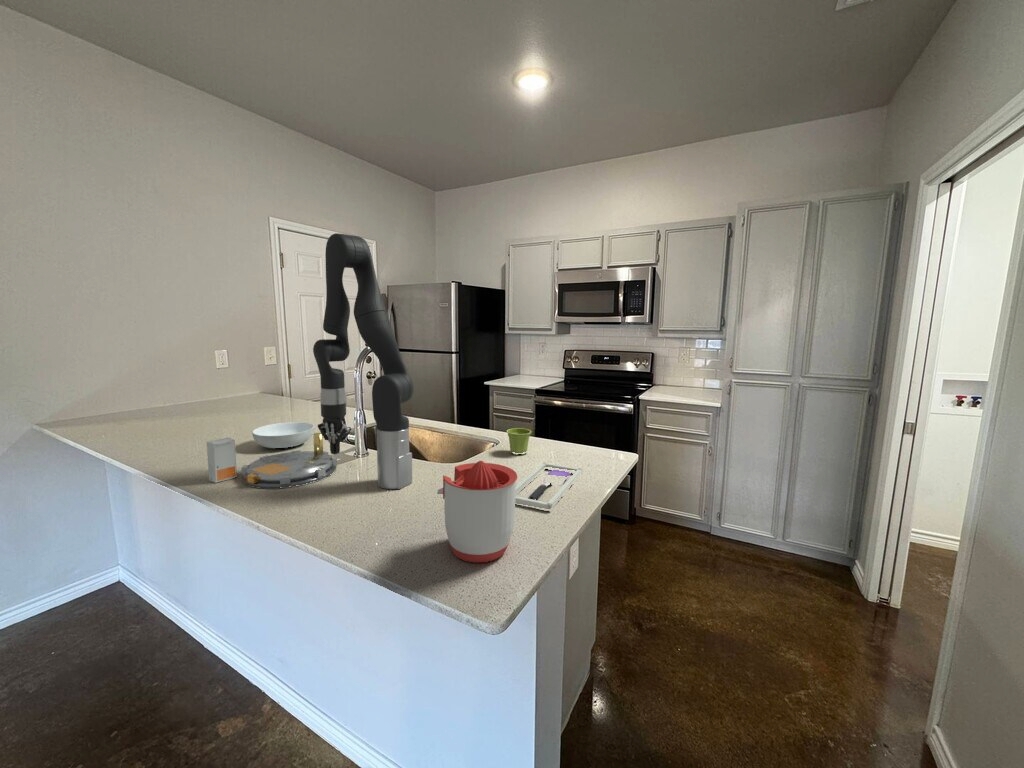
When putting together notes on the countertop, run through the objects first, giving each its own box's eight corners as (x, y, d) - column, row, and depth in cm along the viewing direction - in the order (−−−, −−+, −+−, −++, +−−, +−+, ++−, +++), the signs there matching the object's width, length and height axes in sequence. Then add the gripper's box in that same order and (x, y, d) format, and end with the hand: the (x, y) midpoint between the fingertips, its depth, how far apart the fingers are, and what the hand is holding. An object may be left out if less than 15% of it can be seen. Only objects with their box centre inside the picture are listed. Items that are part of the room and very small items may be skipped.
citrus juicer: (454, 525, 101) (454, 445, 98) (523, 538, 96) (526, 454, 93) (422, 560, 86) (421, 466, 84) (502, 576, 81) (504, 478, 79)
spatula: (539, 507, 114) (539, 499, 113) (517, 502, 117) (517, 493, 116) (570, 479, 135) (570, 472, 134) (551, 475, 138) (551, 468, 137)
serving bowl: (268, 438, 171) (267, 421, 170) (322, 438, 173) (321, 421, 172) (241, 454, 150) (240, 435, 149) (303, 453, 153) (302, 435, 152)
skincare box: (215, 483, 123) (212, 444, 121) (208, 480, 125) (205, 441, 123) (238, 477, 128) (235, 439, 126) (231, 474, 130) (228, 437, 129)
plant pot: (501, 453, 158) (501, 431, 157) (515, 448, 166) (515, 426, 165) (521, 458, 153) (522, 435, 152) (535, 452, 161) (536, 430, 160)
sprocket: (354, 463, 140) (354, 437, 138) (282, 491, 116) (280, 459, 114) (298, 451, 150) (297, 427, 149) (221, 474, 126) (219, 445, 125)
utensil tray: (581, 474, 138) (582, 469, 138) (550, 512, 110) (550, 505, 109) (543, 468, 144) (543, 462, 143) (504, 502, 115) (504, 495, 115)
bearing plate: (353, 467, 140) (353, 464, 139) (282, 495, 116) (282, 491, 116) (298, 455, 150) (298, 452, 150) (223, 478, 127) (223, 475, 126)
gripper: (357, 401, 136) (358, 453, 138) (327, 397, 141) (329, 447, 144) (339, 405, 129) (341, 459, 131) (308, 401, 134) (311, 453, 137)
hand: (335, 453), depth 137 cm, fingers closed
